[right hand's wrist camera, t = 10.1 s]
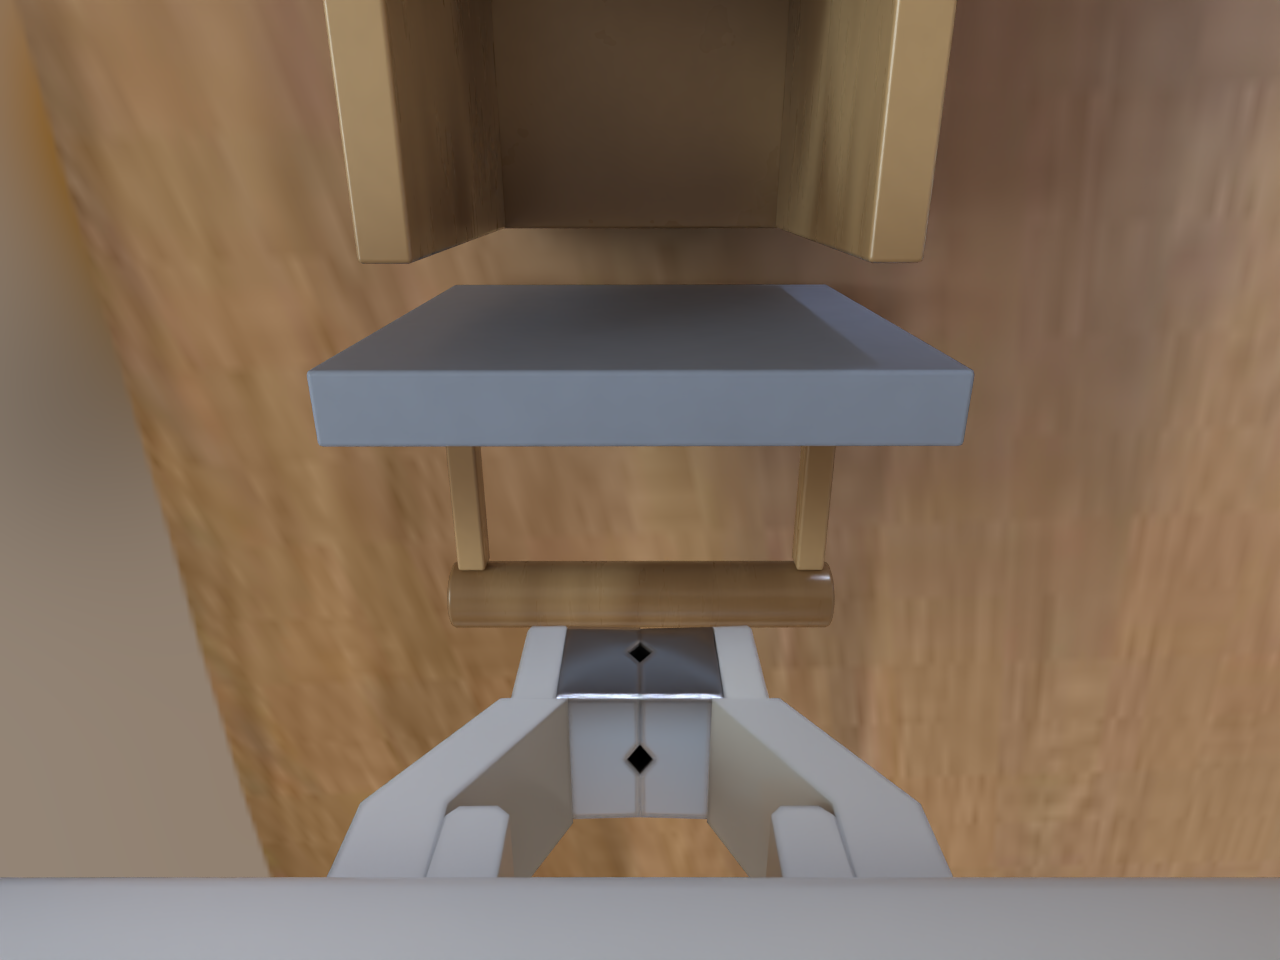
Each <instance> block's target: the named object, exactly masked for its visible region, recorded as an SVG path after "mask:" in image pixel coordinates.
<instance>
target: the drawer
mask: <svg viewBox="0 0 1280 960" xmlns="http://www.w3.org/2000/svg"><path fill="white" fill-rule="evenodd" d="M323 5H324V13H325V20H326V28H327V35H328V43H329V50H330V58H331V65H332V73H333V80H334V87H335V95H336V102H337V110H338V117H339V125H340V132H341V140H342V147H343V154H344V162H345V169H346V177H347V184H348V192H349V199H350V207H351V214H352V222H353V229H354V236H355V244H356V251H357V259H358V261H359V262H360V263H363V264H409V263H412V262H415V261H417V260H420V259H423V258H425V257H428V256H431V255H433V254H436V253H439V252H441V251H444V250H447V249H449V248H452V247H455V246H457V245H460V244H463V243H465V242H468V241H471V240H473V239H476V238H479V237H481V236H484V235H487V234H489V233H492V232H495V231H497V230H500V229H503V228H780V229H782V230H785V231H788V232H790V233H793V234H796V235H799V236H801V237H804V238H807V239H809V240H812V241H815V242H817V243H820V244H823V245H825V246H828V247H831V248H833V249H836V250H839V251H842V252H844V253H847V254H850V255H852V256H855V257H858V258H860V259H863V260H866V261H868V262H871V263H918V262H921V261H922V259H923V256H924V249H925V241H926V234H927V226H928V218H929V211H930V203H931V196H932V188H933V180H934V173H935V165H936V158H937V150H938V143H939V135H940V127H941V120H942V112H943V105H944V97H945V89H946V82H947V74H948V67H949V59H950V51H951V44H952V36H953V29H954V21H955V14H956V6H957V0H323ZM307 379H308V385H309V391H310V397H311V403H312V409H313V415H314V421H315V427H316V433H317V439H318V443H319V445H320V446H446V453H447V463H448V473H449V482H450V492H451V502H452V512H453V522H454V532H455V541H456V551H457V561H458V562H456V563H455V564H454V565H453V567H452V570H451V573H450V577H449V582H448V592H447V605H448V614H449V618H450V621H451V624H452V625H453V626H455V627H532V626H566V627H569V626H586V627H718V626H744V625H748V626H749V627H827V626H829V625H830V623H831V621H832V617H833V613H834V600H835V597H834V583H833V577H832V573H831V570H830V567H829V565H828V564H827V563H826V562H824V559H825V549H826V539H827V529H828V518H829V508H830V498H831V488H832V478H833V468H834V458H835V448H836V446H959V445H962V443H963V441H964V435H965V429H966V423H967V417H968V411H969V405H970V399H971V392H972V386H973V380H974V371H973V370H972V369H970V368H968V367H966V366H965V365H963V364H961V363H960V362H958V361H956V360H954V359H953V358H951V357H949V356H948V355H946V354H944V353H942V352H941V351H939V350H937V349H936V348H934V347H932V346H930V345H929V344H927V343H925V342H924V341H922V340H920V339H918V338H917V337H915V336H913V335H912V334H910V333H908V332H906V331H905V330H903V329H901V328H900V327H898V326H896V325H894V324H893V323H891V322H889V321H888V320H886V319H884V318H882V317H881V316H879V315H877V314H876V313H874V312H872V311H870V310H869V309H867V308H865V307H863V306H862V305H860V304H858V303H857V302H855V301H853V300H851V299H850V298H848V297H846V296H845V295H843V294H841V293H839V292H838V291H836V290H834V289H833V288H831V287H829V286H827V285H455V286H453V287H451V288H450V289H448V290H446V291H445V292H443V293H441V294H439V295H438V296H436V297H434V298H433V299H431V300H429V301H427V302H426V303H424V304H422V305H421V306H419V307H417V308H415V309H414V310H412V311H410V312H409V313H407V314H405V315H403V316H402V317H400V318H398V319H397V320H395V321H393V322H391V323H390V324H388V325H386V326H385V327H383V328H381V329H380V330H378V331H376V332H374V333H373V334H371V335H369V336H368V337H366V338H364V339H362V340H361V341H359V342H357V343H356V344H354V345H352V346H350V347H349V348H347V349H345V350H344V351H342V352H340V353H338V354H337V355H335V356H333V357H332V358H330V359H328V360H326V361H325V362H323V363H321V364H320V365H318V366H316V367H314V368H313V369H311V370H309V371H308V373H307ZM480 446H801V453H800V466H799V478H798V490H797V502H796V515H795V527H794V539H793V551H792V558H793V561H488V560H489V558H490V555H489V543H488V531H487V519H486V507H485V495H484V483H483V472H482V460H481V448H480Z"/></svg>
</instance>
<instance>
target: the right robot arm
mask: <svg viewBox="0 0 1280 960" xmlns="http://www.w3.org/2000/svg"><path fill="white" fill-rule="evenodd" d="M625 817H653V818H690V819H707V823H708V824H709V825H710V827H711V828H712V829H713V830H714V832H715V833H716V834H717V836H718V837H719V838H720V840H721V841H722V842H723V843H724V845H725V846H726V847H727V849H728V850H729V851H730V853H731V854H732V855H733V856H734V858H735V859H736V860H737V862H738V863H739V864H740V866H741V867H742V868H743V870H744V871H745V872H746V873H747V875H748V876H749V877H532V875H533V874H534V873H535V871H536V870H537V869H538V867H539V866H540V865H541V864H542V862H543V861H544V860H545V858H546V857H547V856H548V855H549V853H550V852H551V851H552V849H553V848H554V847H555V845H556V844H557V843H558V842H559V840H560V839H561V838H562V836H563V835H564V834H565V833H566V831H567V830H568V829H569V827H570V826H571V825H572V823H573V819H590V818H625ZM0 960H1280V877H953V876H952V873H951V871H950V869H949V867H948V864H947V862H946V860H945V858H944V855H943V853H942V851H941V849H940V846H939V844H938V842H937V840H936V838H935V835H934V833H933V831H932V829H931V826H930V824H929V822H928V820H927V817H926V815H925V813H924V811H923V809H922V806H921V804H920V803H919V802H917V801H916V800H915V799H913V798H912V797H911V796H909V795H908V794H907V793H905V792H904V791H903V790H901V789H900V788H899V787H897V786H896V785H895V784H893V783H892V782H891V781H889V780H888V779H887V778H885V777H884V776H883V775H881V774H880V773H879V772H877V771H876V770H875V769H873V768H872V767H871V766H869V765H868V764H867V763H865V762H864V761H863V760H861V759H860V758H859V757H857V756H856V755H855V754H853V753H852V752H851V751H849V750H848V749H847V748H845V747H844V746H843V745H841V744H840V743H839V742H837V741H836V740H835V739H833V738H832V737H831V736H829V735H828V734H827V733H825V732H824V731H823V730H821V729H820V728H819V727H817V726H816V725H815V724H813V723H812V722H811V721H809V720H808V719H807V718H805V717H804V716H803V715H801V714H800V713H799V712H797V711H796V710H795V709H793V708H792V707H791V706H789V705H788V704H787V703H785V702H784V701H783V700H781V699H780V698H769V696H768V692H767V689H766V685H765V681H764V677H763V673H762V669H761V665H760V661H759V657H758V653H757V649H756V645H755V641H754V637H753V633H752V629H751V628H750V627H749V626H748V625H744V626H718V627H688V628H648V629H640V628H636V627H586V626H569V627H568V628H567V627H566V626H532V627H531V628H530V629H529V630H528V633H527V636H526V640H525V644H524V648H523V652H522V656H521V660H520V664H519V668H518V672H517V676H516V680H515V684H514V688H513V692H512V696H511V698H500V699H499V700H497V701H496V702H495V703H493V704H492V705H491V706H489V707H488V708H487V709H485V710H484V711H483V712H481V713H480V714H479V715H477V716H476V717H475V718H473V719H472V720H471V721H469V722H468V723H467V724H465V725H464V726H463V727H461V728H460V729H459V730H457V731H456V732H455V733H453V734H452V735H451V736H449V737H448V738H447V739H445V740H444V741H443V742H441V743H440V744H438V745H437V746H436V747H434V748H433V749H432V750H430V751H429V752H428V753H426V754H425V755H424V756H422V757H421V758H420V759H418V760H417V761H416V762H414V763H413V764H412V765H410V766H409V767H408V768H406V769H405V770H404V771H402V772H401V773H400V774H398V775H397V776H396V777H394V778H393V779H392V780H390V781H389V782H388V783H386V784H385V785H384V786H382V787H381V788H379V789H378V790H377V791H375V792H374V793H373V794H371V795H370V796H369V797H367V798H366V799H365V800H363V801H362V802H361V803H360V805H359V807H358V809H357V812H356V814H355V816H354V818H353V820H352V823H351V825H350V827H349V829H348V831H347V834H346V836H345V838H344V840H343V842H342V845H341V847H340V849H339V851H338V853H337V856H336V858H335V860H334V862H333V864H332V867H331V869H330V871H329V873H328V875H327V877H0Z"/></svg>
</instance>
